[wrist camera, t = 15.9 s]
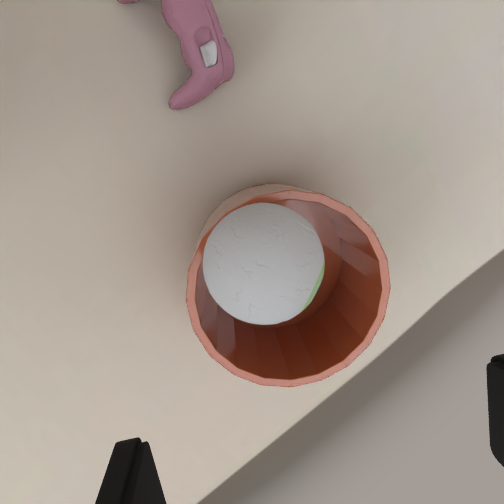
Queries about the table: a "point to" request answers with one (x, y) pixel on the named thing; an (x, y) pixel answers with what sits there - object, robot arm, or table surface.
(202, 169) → the table surface
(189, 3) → the video game controller
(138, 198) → the table surface
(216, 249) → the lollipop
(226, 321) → the pen pot
